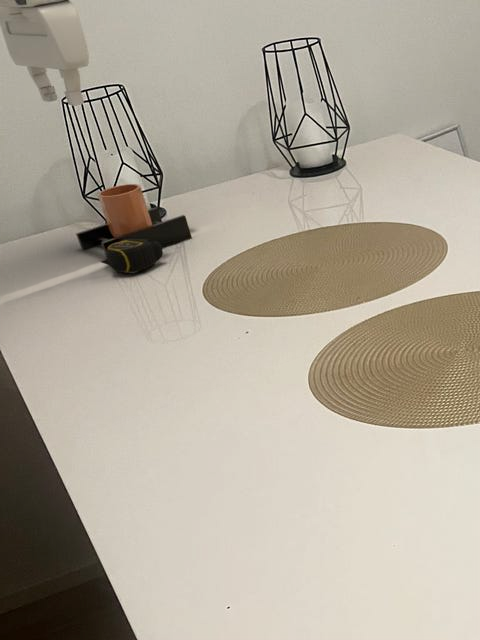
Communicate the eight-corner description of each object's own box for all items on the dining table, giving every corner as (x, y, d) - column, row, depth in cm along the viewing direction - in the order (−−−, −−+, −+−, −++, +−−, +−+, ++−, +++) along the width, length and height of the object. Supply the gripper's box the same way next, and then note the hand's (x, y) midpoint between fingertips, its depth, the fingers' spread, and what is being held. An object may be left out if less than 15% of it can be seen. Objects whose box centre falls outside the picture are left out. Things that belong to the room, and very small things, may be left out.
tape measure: (169, 262, 142) (160, 236, 139) (138, 278, 137) (128, 252, 135) (135, 260, 145) (126, 234, 142) (103, 276, 140) (93, 250, 138)
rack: (111, 266, 144) (103, 243, 142) (84, 255, 150) (75, 233, 148) (192, 238, 150) (185, 215, 148) (162, 229, 156) (155, 207, 154)
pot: (123, 240, 145) (109, 198, 141) (105, 234, 149) (90, 193, 145) (160, 227, 148) (147, 186, 144) (141, 222, 152) (128, 182, 148)
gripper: (-25, -9, 133) (15, 103, 142) (30, -10, 120) (71, 112, 129) (18, -16, 136) (55, 94, 145) (76, -18, 123) (113, 102, 132)
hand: (63, 102), depth 137 cm, fingers open, 8 cm apart
